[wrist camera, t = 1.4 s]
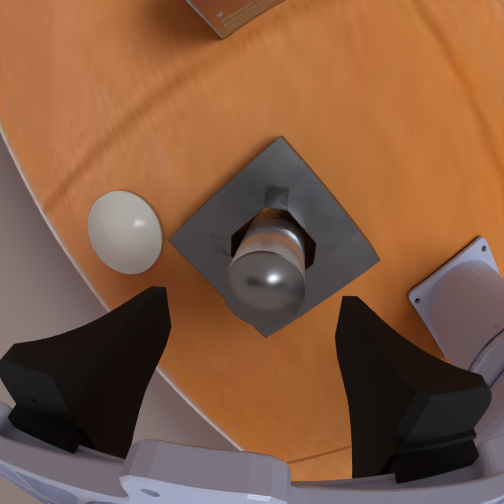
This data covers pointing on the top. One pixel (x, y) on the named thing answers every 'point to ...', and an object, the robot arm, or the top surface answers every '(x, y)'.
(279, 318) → the silver metal cylinder
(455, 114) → the top surface
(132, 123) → the top surface
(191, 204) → the top surface
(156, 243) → the saucer
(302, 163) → the housing
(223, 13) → the small box
